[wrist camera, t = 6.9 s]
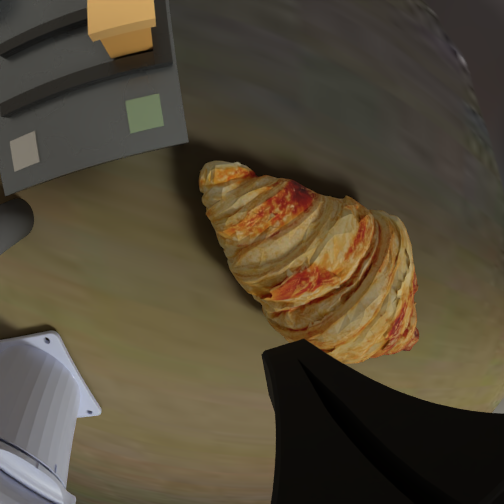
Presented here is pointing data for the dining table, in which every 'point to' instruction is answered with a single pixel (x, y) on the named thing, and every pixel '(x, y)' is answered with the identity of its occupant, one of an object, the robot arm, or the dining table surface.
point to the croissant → (315, 262)
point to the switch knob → (121, 25)
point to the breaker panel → (79, 93)
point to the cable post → (14, 222)
